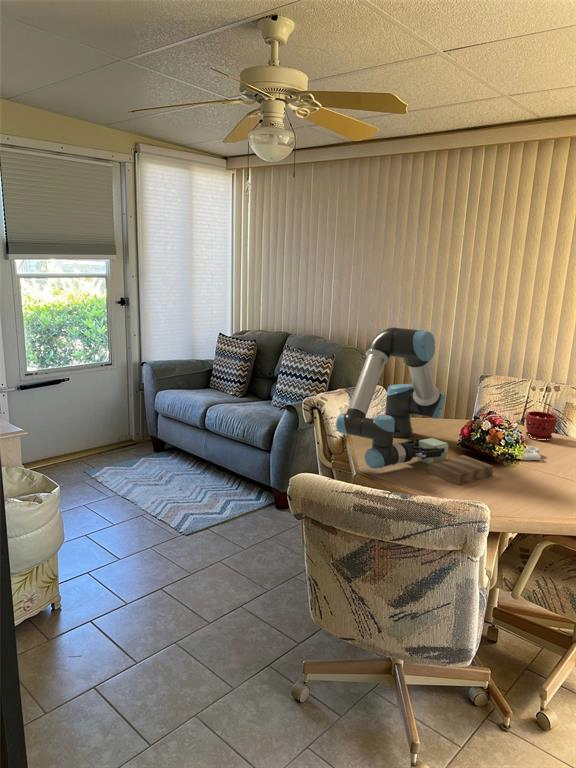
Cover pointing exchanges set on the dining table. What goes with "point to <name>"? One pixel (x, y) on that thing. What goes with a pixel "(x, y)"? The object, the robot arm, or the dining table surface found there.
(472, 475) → the block
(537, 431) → the plant pot
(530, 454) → the white brass knuckles
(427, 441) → the green block
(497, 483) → the dining table surface
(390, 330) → the robot arm
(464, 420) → the dining table surface
